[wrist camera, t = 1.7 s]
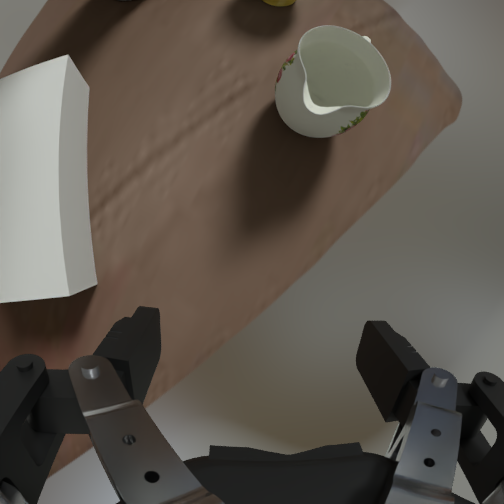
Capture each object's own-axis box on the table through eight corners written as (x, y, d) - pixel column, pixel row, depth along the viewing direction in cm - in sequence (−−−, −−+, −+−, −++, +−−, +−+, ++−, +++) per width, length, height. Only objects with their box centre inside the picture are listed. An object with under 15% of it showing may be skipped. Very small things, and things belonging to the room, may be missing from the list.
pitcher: (367, 93, 40) (420, 51, 26) (306, 180, 38) (359, 151, 25) (308, 48, 38) (346, -8, 24) (236, 128, 37) (257, 73, 23)
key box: (32, 291, 32) (-5, 303, 24) (28, 105, 31) (-1, 79, 22) (97, 284, 34) (69, 296, 25) (89, 88, 33) (68, 54, 24)
